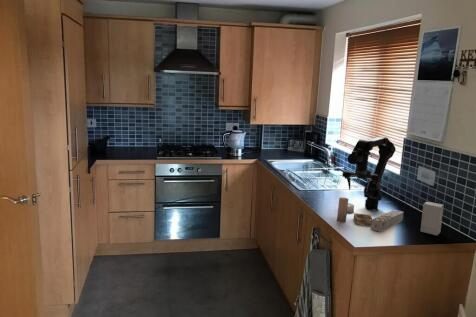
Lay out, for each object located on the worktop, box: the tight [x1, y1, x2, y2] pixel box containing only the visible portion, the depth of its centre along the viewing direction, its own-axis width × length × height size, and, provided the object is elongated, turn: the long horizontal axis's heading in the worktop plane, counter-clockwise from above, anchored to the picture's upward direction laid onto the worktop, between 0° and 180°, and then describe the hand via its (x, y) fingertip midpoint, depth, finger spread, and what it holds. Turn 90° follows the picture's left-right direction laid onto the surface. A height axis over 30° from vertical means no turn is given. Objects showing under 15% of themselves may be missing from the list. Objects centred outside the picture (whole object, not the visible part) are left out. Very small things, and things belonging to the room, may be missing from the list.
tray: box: [353, 212, 373, 227], centre depth 214 cm, size 9×9×3 cm
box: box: [370, 209, 404, 233], centre depth 212 cm, size 27×5×6 cm, turn 136°
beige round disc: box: [347, 202, 355, 214], centre depth 231 cm, size 8×8×4 cm
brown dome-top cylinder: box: [336, 197, 349, 223], centre depth 213 cm, size 5×5×12 cm
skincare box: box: [420, 201, 444, 236], centre depth 204 cm, size 8×6×15 cm
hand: (358, 190), depth 225 cm, fingers open, 9 cm apart
